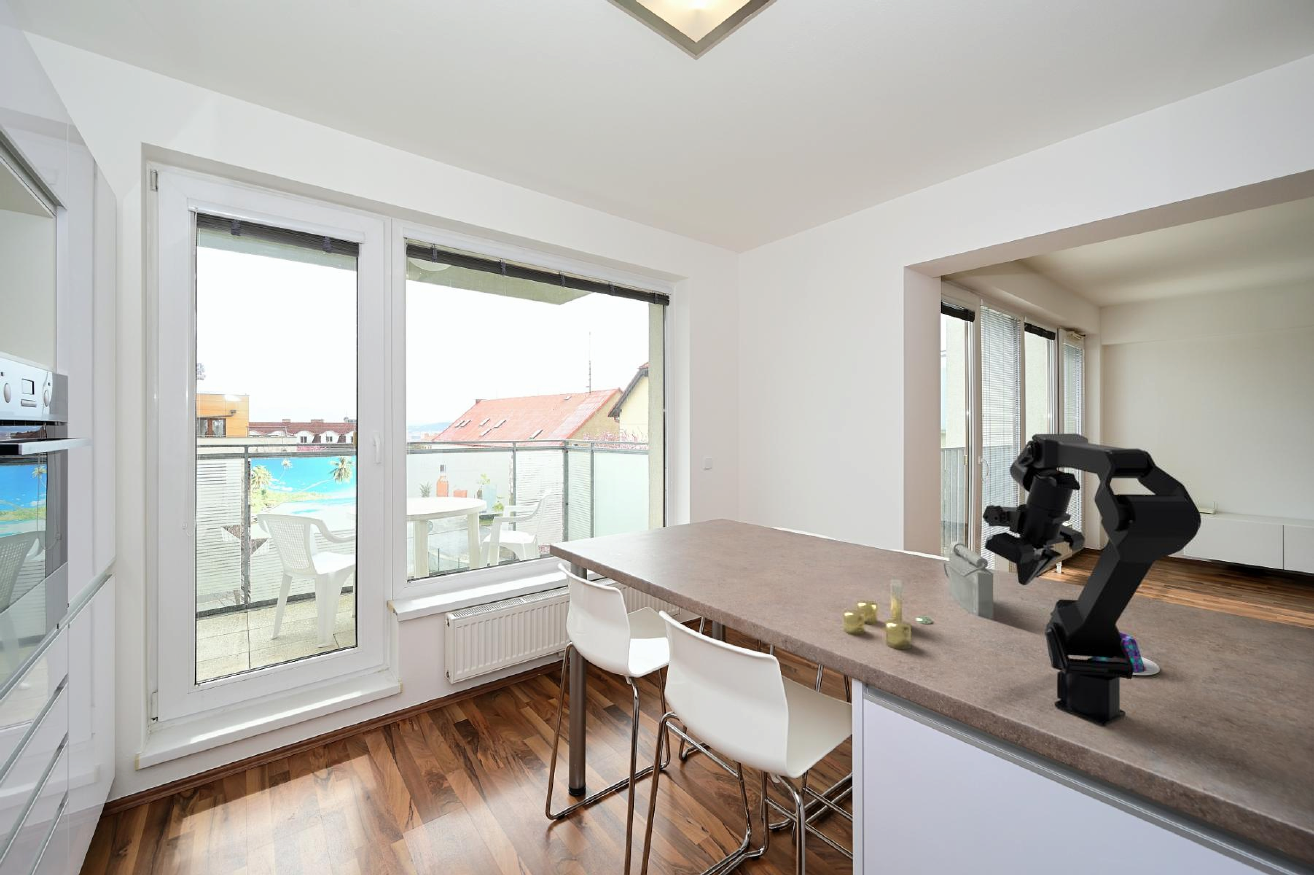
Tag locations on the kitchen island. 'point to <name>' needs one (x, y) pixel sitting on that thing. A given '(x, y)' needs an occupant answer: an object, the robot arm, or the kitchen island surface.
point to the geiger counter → (970, 581)
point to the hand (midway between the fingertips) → (1022, 584)
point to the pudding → (1134, 657)
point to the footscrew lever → (897, 620)
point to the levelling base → (866, 617)
